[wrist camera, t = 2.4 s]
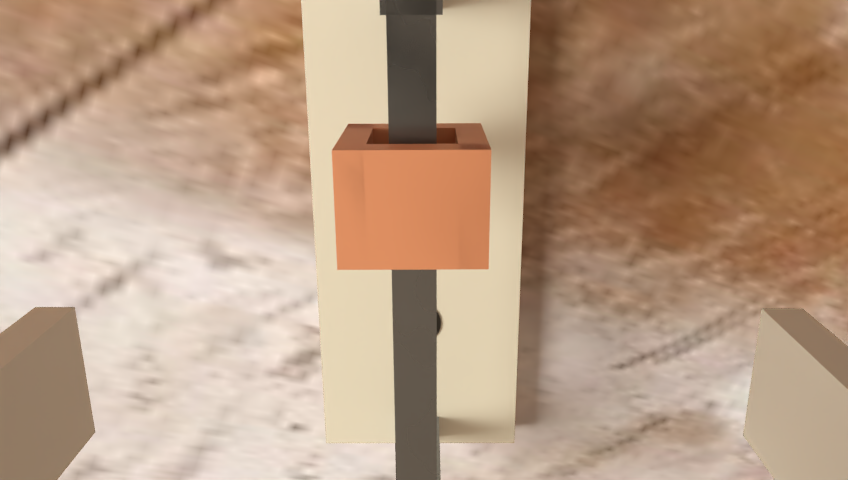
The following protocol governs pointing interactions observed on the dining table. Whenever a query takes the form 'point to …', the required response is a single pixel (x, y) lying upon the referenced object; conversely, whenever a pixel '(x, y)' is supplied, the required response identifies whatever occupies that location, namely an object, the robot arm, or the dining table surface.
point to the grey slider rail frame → (414, 289)
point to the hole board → (456, 288)
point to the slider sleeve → (412, 199)
